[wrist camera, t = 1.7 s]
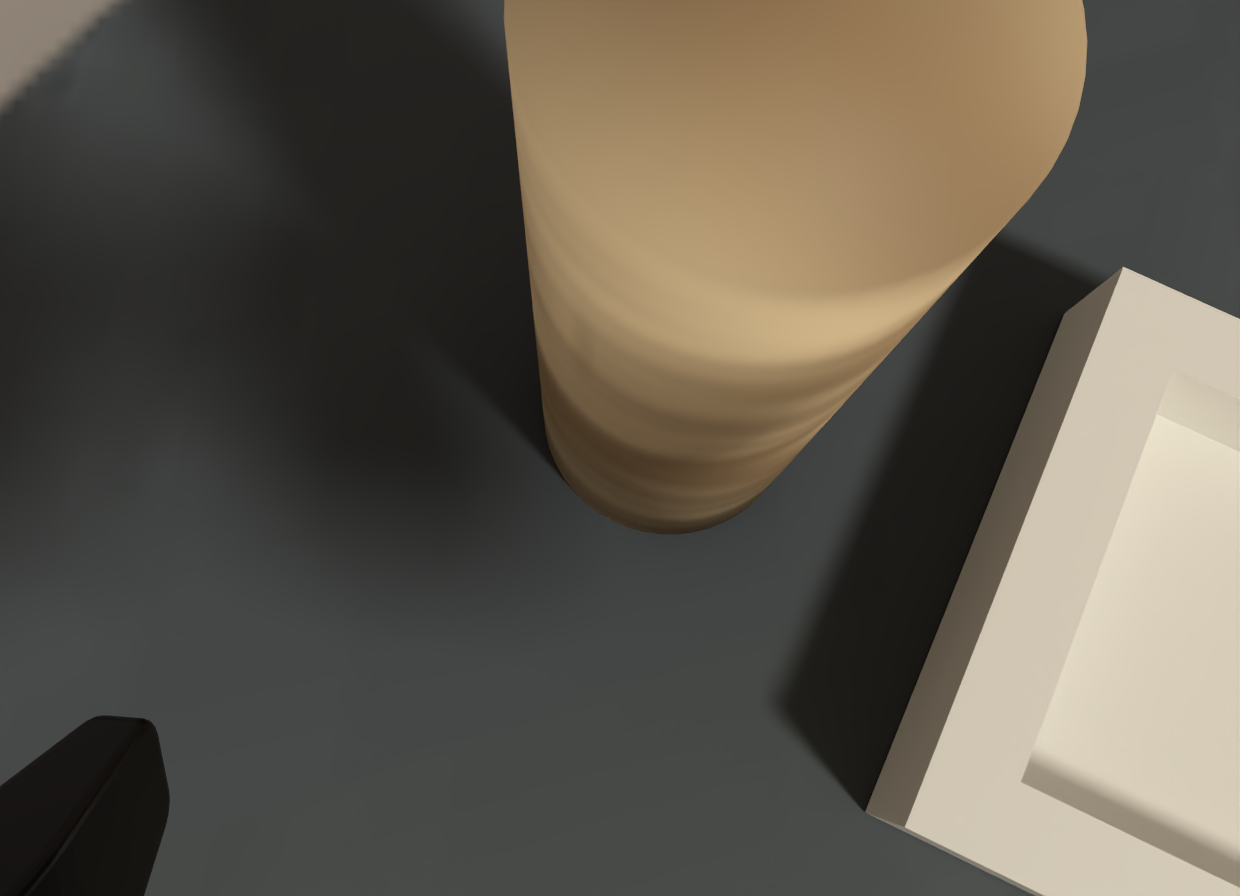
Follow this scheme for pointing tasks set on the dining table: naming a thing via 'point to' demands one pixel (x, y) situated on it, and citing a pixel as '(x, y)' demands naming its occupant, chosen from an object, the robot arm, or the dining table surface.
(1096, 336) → the tool holder
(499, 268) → the dining table surface
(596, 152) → the wooden tool handle
